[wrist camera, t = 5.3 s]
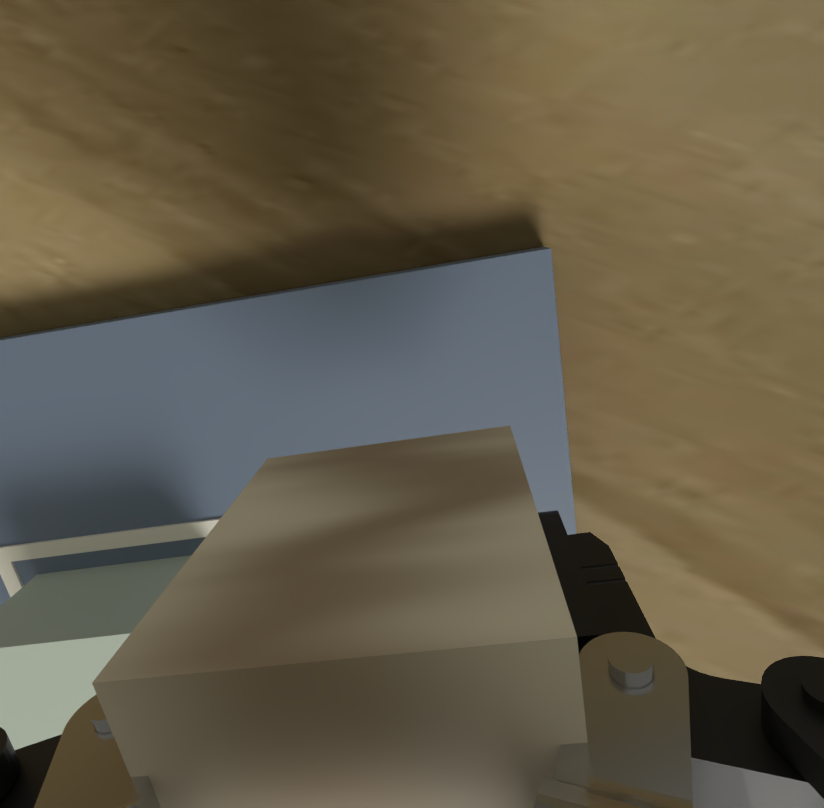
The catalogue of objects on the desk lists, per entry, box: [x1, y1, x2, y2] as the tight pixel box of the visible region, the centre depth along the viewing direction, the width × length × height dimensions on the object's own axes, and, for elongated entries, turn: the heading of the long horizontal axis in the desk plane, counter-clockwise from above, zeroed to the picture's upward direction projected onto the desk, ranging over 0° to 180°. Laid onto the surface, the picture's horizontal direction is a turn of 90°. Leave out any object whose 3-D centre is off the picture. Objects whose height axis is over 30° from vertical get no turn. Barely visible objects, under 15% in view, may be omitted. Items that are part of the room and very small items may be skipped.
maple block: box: [92, 425, 588, 808], centre depth 9 cm, size 5×5×6 cm
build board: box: [0, 247, 576, 606], centre depth 20 cm, size 22×18×1 cm
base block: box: [0, 555, 192, 750], centre depth 19 cm, size 7×7×4 cm
